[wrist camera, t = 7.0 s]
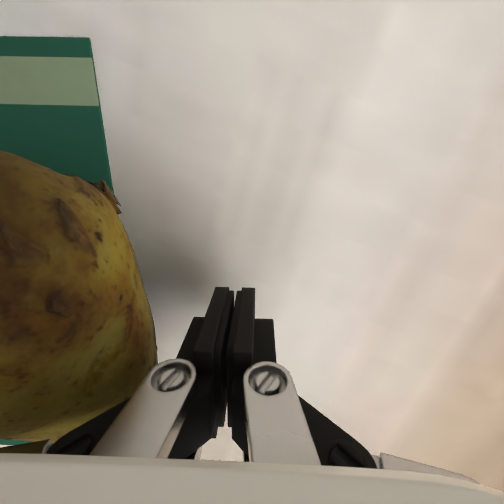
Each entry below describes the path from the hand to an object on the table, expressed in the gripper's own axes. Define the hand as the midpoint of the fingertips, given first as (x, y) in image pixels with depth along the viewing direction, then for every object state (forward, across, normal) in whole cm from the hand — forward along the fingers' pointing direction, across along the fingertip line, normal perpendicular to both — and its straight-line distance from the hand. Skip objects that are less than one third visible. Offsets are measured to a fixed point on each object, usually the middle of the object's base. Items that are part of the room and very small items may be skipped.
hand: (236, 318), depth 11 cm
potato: (+2, +6, 0) cm, 7 cm away
